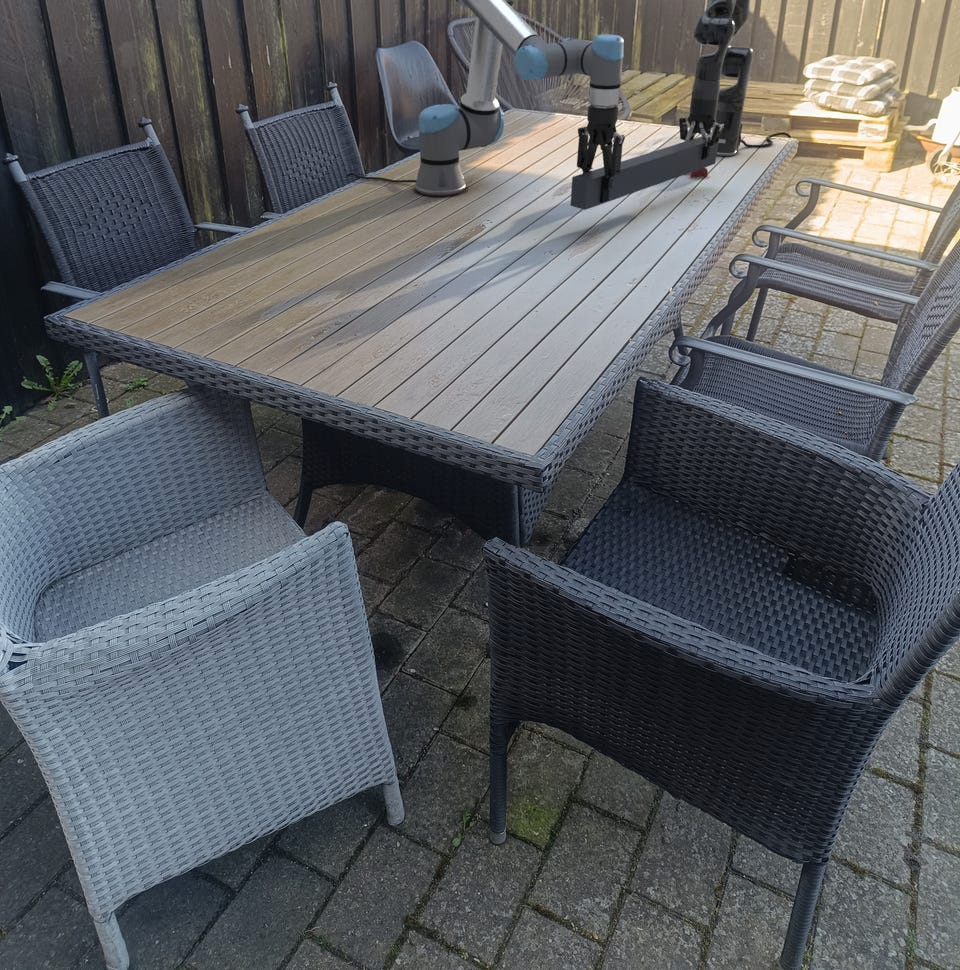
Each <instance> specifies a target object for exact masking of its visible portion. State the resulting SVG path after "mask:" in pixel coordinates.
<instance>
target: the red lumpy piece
mask: <svg viewBox="0 0 960 970" xmlns="http://www.w3.org/2000/svg"><path fill="white" fill-rule="evenodd" d="M708 173H709V171H708V167H705V168H702V169H699V170H696V171H694V172H691V173H689V176H690V178H702V177H705V178H706V177H708Z"/></svg>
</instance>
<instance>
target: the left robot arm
mask: <svg viewBox="0 0 960 970" xmlns="http://www.w3.org/2000/svg"><path fill="white" fill-rule="evenodd" d="M455 1H456V2H457V3H458V4H459V5H460V7H462V8H464V9H469V10H470V11H471V12H472V13H473V14H474V15H475V18H474V19H475V20H474V28H473V35H472V44H471V53H470V60H469V67H468V69H469V70H468V76H467V77H468V78H467V85H466V92H465V93H464V94H463V95H462V96H461V97H460V100H459V108H458V106H457V105H455V104H453V103H452V104H451V103H450V104H449V103H443V104H434V105H431V106H428V107H426V108H424V109H422V111H421V112H420V114H419V116H418V134H419V135H418V136H419V157H420V158H419V159H420V161H419V162H420V164H419V168H418V172H417V176H416V179H390V178H385V177H380V176H379V177H378V176H361V175H359V174H357V173H355V172H349V173H347V175H346V177H351V176H354V177H356V178H358V179H360V180H361V179H362V180H375V181H376V180H377V181H385V182H390V183H395V184H396V183H397V184H400V183H414V184H415V185H414V186H415V192H417V193H418V194H420V195H424V196H430V197H450V196H455V195H459V194H461V193H463V192H464V191H466V181H465V177H464V174H463V172H462V169H461V165H460V152H461V151H466V150H471V149H477V148H486V147H488V146H491V145H495V143H497V142H498V141H499V140H500V139H501V138H502V135H503V133H504V130H505V117H504V111H503V110H502V108H501V106H500V101H499V100H498V99H497V98H496V95H497V94H496V93H497V88H498V79H499V73H500V67H501V59H502V54H503V53H502V52H503V47H504V48H505V49H506V50H507V51H508V52H509V53H510V54H511V56H513V57H514V62H513V63H514V69H515V70H516V74H517V76H518V77H519V79H522V80H523V81H538V80H544V79H550V78H555V77H563V76H570V75H571V76H572V75H583V76H588V77H590V78H589V89H588V90H589V91H588V104H589V106H588V107H587V124H586V126H582V127H579V128H578V129H577V134H578V145H577V146H578V147H577V157H576V167H577V168H579V169H580V170H581V171H582V174H583V173H586V172H590V171H592V170H594V169H593V168H594V167H593V164H594V161H595V157H596V153H597V150H598V147H600V150H601V153H602V161H603V167H604V172H605V176H603V177H602V184H601V196H600V202H601V203H603V202H606V201H609V190H610V189H611V188H612V181H613V176H616V175H619V174H620V168H621V162H622V156H623V155H622V154H623V145H624V142H625V140H626V135H625V134H620V133H618V132H617V127H616V124H617V122H618V116H619V107H618V104H619V102H620V93H621V81H622V73H623V72H622V71H623V63H624V57H625V55H624V52H625V51H624V50H625V49H624V48H625V47H624V45H625V42H624V37H622V36H621V35H618V34H609V33H608V34H607V33H606V34H597V35H595V36H594V37H593V39H592V41H589V40H585V39H581V38H579V37H574V38H573V37H566V38H564V39H563V40H561V41H559V42H548V43H547V42H546V41H545V40H544V39H543V38H542V37H541V36H540V35H538V33H537V32H536V31H535V30H534V29H533V28H532V27H531V26H530V25H529V24H528V23H527V22H526V21H525V19H524V18H523V17H522V16H520V14H519V13H518V12H517V11H516V10H515V9H514V8H513V7H514V6H515V1H516V0H455ZM609 202H610V201H609ZM606 203H607V202H606ZM603 204H604V203H603Z"/></svg>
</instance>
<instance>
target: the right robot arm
mask: <svg viewBox="0 0 960 970" xmlns="http://www.w3.org/2000/svg"><path fill="white" fill-rule="evenodd" d="M750 2H751V0H709V2H708V5H707V7H706V8H705V10H704V11H703V12H702V13H701V15H700V17H699V18H698V20H697V22H696V24H695V26H694V31H693V38H694V40H695V42H696V43H697V44H698V45H700V46H713V47H717V49H716V51H715V52H713V53H705V54H702V55H700V56H699V57H698V58H697V62H696V68H695V74H694V75H695V76H694V80H693V85H692V89H691V99H690V106H689V115H688V116H682V117H680V118H679V120H678V123H679V139H680V140H681V141H682V140H683V142H685V141H688V140H692V139H695V138H696V137H695V136H696V135H697V134H699V135H701V136H702V139H703V142H704V147H703V152H702V160H706V159H707V158H708V157H709V154H710V148H711V146H713V145H716V144H717V143H718V140H719V143H718V149H717V155H716V156H717V157H731V156H735V155H736V154H738V153H739V148H740V146H741V143H742V144H743V146H745V147H747V148H765V147H769V146H772V145H773V143H774V142H773V141H772V140H771V138H774V137H777V136H786V137H787V138H788V139H789V138H792V136H791V134H790V133H787V132H784V131H783V132H776V133H773V134H770V135H768V136H766V138H765V140H766V141H767V142H768V143H764V144H763V143H762V144H748V143H747V142H746V141H745V140H743V139H742V136H741V135H742V130H743V123H742V119H743V113H744V108H745V101H746V96H747V90H748V84H749V79H750V75H751V70H752V66H753V61H754V49H753V48H752V47H750V46H739V45H737V46H736V45H731V42H732V40H733V39H734V38H735V37H736V35H737V34H738V33H739V32H740V31H741V30H742V29H743V27H744V26H745V25H746V23H747V21H748V20H749V16H750V7H751V6H750V5H751V4H750ZM721 77H723V78H730V79H731V78H732V79H737V81H736V82H735V83H734V84H732V85H730V86H726V87H723V88H721ZM711 137H712V138H711Z"/></svg>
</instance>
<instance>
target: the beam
mask: <svg viewBox="0 0 960 970" xmlns="http://www.w3.org/2000/svg"><path fill="white" fill-rule="evenodd" d="M711 138H712V137H711ZM718 143H719V140H718ZM718 143H717V144H716V145H713V146H711V148H710V154H709V157H708V158H707V159H706V160H702V152H703V147H704V142H703V139H702V135H701V136H698V137H694V139H692V140H688V141H683V142H679V143H676V144H673V145H669V146H666V147H662V148H660V149H657V150H653V151H651V152H648V153H644V154H640V155H638V156H634V157H631V158H628V159H625V160H621V168H620V174H619V175H616V176H613V181H612V188H611V189H610V190H609V201H606V202H603V203H601V202H600V196H601V184H602V177H603V176H605V172H604V166H603V167H600V168H597V169H592V170H590V172H586V173H583V172H582V173H580V174H577V175H574V176H572V178H571V193H570V207H574V208H577V209H579V210H580V209H581V210H584V211H586V210H589V209H592V208H595V207H598V206H600V205H603V204H606V203H608V202H612V201H615V200H617V199H621V198H623V197H625V196H629V195H631V194H634V193H637V192H639V191H642V190H646V189H648V188H651V187H654V186H657V185H659V184H662V183H665V182H668V181H671V180H673V179H676V178H679V177H682V176H685V175H689V174H691V172H694V171H696V170H699V169H702V168H705V167H706V168H708V167H710V166H713V165H716V161H717V156H718V155H717V149H718Z"/></svg>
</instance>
